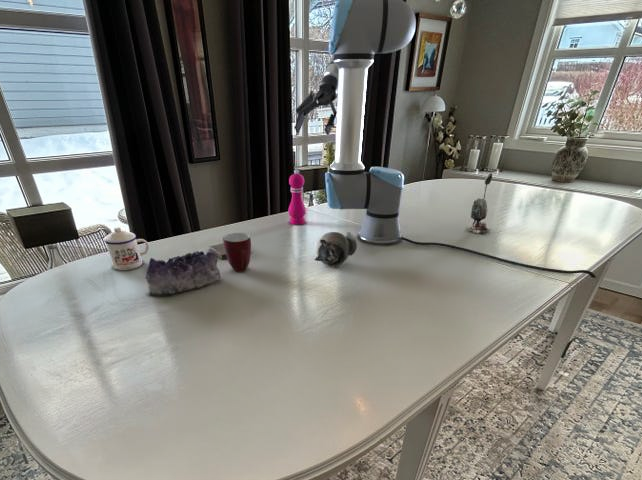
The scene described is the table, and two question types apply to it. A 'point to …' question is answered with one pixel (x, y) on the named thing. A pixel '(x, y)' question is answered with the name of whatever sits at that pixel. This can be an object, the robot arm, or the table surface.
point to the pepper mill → (297, 199)
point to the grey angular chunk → (218, 250)
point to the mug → (238, 250)
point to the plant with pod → (480, 211)
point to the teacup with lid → (124, 249)
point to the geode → (182, 273)
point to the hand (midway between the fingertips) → (311, 131)
